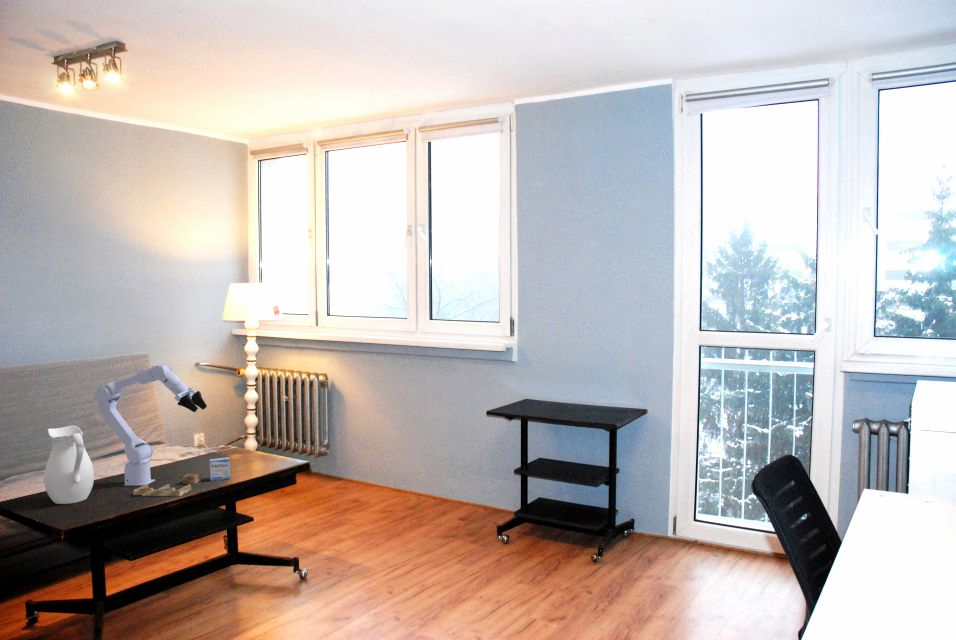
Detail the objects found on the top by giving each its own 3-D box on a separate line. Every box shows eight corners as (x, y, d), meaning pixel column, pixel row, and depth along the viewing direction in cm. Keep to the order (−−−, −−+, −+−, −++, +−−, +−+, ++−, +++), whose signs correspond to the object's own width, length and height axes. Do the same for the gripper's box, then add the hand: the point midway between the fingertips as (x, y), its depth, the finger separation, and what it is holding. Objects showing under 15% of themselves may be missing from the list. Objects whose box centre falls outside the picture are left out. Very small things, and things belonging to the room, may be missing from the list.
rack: (133, 495, 294) (133, 488, 294) (146, 489, 303) (145, 482, 303) (180, 496, 292) (179, 488, 292) (191, 489, 301) (190, 482, 301)
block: (183, 484, 310) (182, 476, 310) (189, 481, 315) (188, 473, 315) (194, 484, 309) (194, 476, 309) (200, 481, 314) (200, 473, 314)
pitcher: (40, 500, 291) (36, 429, 290) (88, 491, 302) (84, 422, 301) (56, 513, 273) (51, 437, 272) (106, 503, 284) (102, 430, 283)
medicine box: (210, 481, 314) (209, 460, 313) (210, 479, 318) (209, 458, 317) (230, 479, 316) (229, 458, 316) (229, 476, 321) (228, 456, 320)
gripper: (174, 381, 301) (198, 404, 301) (191, 377, 316) (215, 399, 315) (163, 394, 302) (187, 417, 301) (181, 390, 316) (204, 412, 316)
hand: (200, 409), depth 308 cm, fingers open, 7 cm apart
